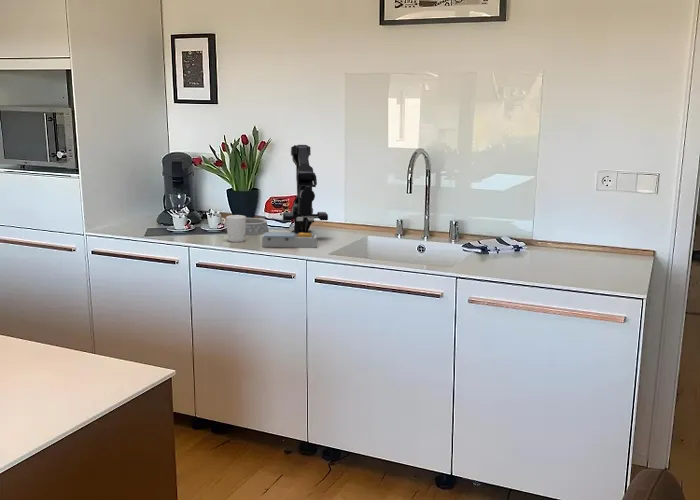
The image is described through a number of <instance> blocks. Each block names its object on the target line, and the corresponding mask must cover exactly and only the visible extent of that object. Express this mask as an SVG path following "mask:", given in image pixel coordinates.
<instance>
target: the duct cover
mask: <svg viewBox="0 0 700 500" xmlns="http://www.w3.org/2000/svg"><path fill="white" fill-rule="evenodd" d="M264 237H290V238H294V237H296V233H295V232H280V231H279V232H276V231H272V232H270V231H269V232H265V234H264Z"/></svg>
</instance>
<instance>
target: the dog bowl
mask: <svg viewBox="0 0 700 500" xmlns="http://www.w3.org/2000/svg"><path fill="white" fill-rule="evenodd" d="M265 232H270V230H269V225H268V221H267V220H266V219H263V218H257V217H246V224H245V235H252V236H261V235H262V236H263V234H265Z"/></svg>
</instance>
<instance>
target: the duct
mask: <svg viewBox="0 0 700 500" xmlns="http://www.w3.org/2000/svg"><path fill="white" fill-rule="evenodd" d="M261 239H262V240H261V247H262V248H305V249H306V248H315V249H316V248H317V234H316V233H315V234H314V237H313V236H311V237H298V236H295V237H294V238H290V237H264V234H263V235H262V236H261Z"/></svg>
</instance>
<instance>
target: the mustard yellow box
mask: <svg viewBox="0 0 700 500" xmlns="http://www.w3.org/2000/svg"><path fill="white" fill-rule="evenodd" d="M297 237H312V232H308V233H297Z"/></svg>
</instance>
